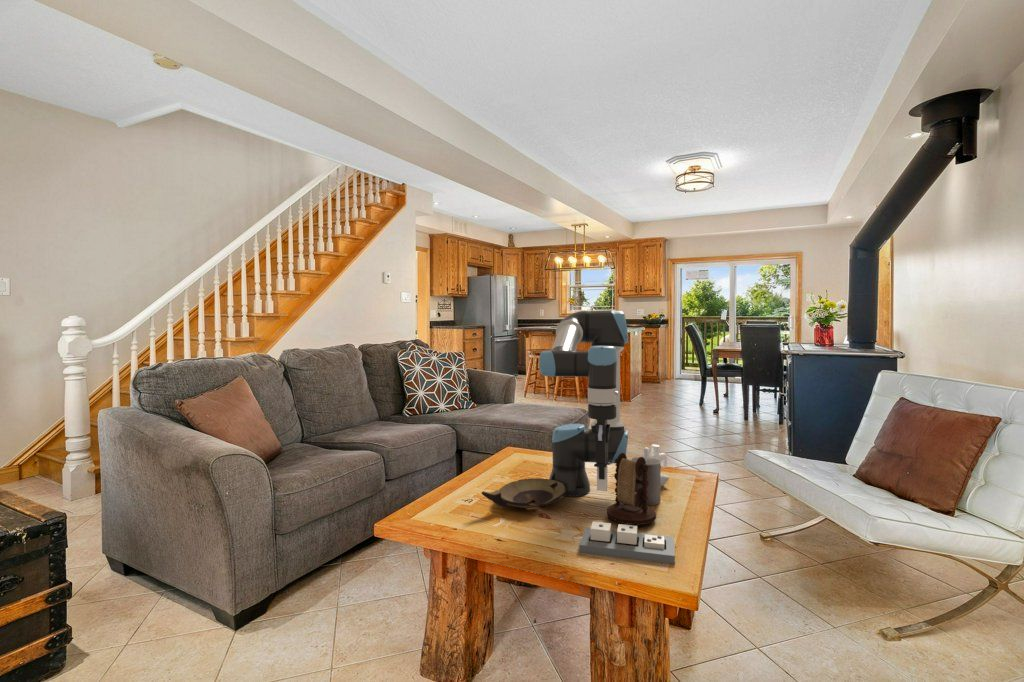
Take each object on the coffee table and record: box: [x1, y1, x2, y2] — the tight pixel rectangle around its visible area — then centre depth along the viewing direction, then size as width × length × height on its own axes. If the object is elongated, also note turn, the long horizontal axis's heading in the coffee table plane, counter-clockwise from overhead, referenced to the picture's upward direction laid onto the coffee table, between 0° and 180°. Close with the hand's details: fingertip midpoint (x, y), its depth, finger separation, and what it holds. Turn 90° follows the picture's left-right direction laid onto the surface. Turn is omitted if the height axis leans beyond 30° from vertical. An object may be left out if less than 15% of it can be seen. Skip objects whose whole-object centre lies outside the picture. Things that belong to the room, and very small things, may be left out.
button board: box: [578, 526, 676, 564], centre depth 136 cm, size 24×12×2 cm, turn 74°
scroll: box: [606, 453, 657, 529], centre depth 155 cm, size 15×15×20 cm
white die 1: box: [590, 521, 612, 543], centre depth 138 cm, size 5×5×3 cm
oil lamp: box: [481, 477, 566, 509], centre depth 168 cm, size 22×30×8 cm
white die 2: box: [616, 523, 638, 546], centre depth 136 cm, size 5×5×3 cm
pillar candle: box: [631, 456, 662, 506], centre depth 171 cm, size 10×10×15 cm
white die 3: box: [643, 534, 665, 550], centre depth 134 cm, size 5×5×3 cm
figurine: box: [643, 443, 670, 487], centre depth 186 cm, size 7×9×15 cm
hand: (602, 489), depth 137 cm, fingers closed
